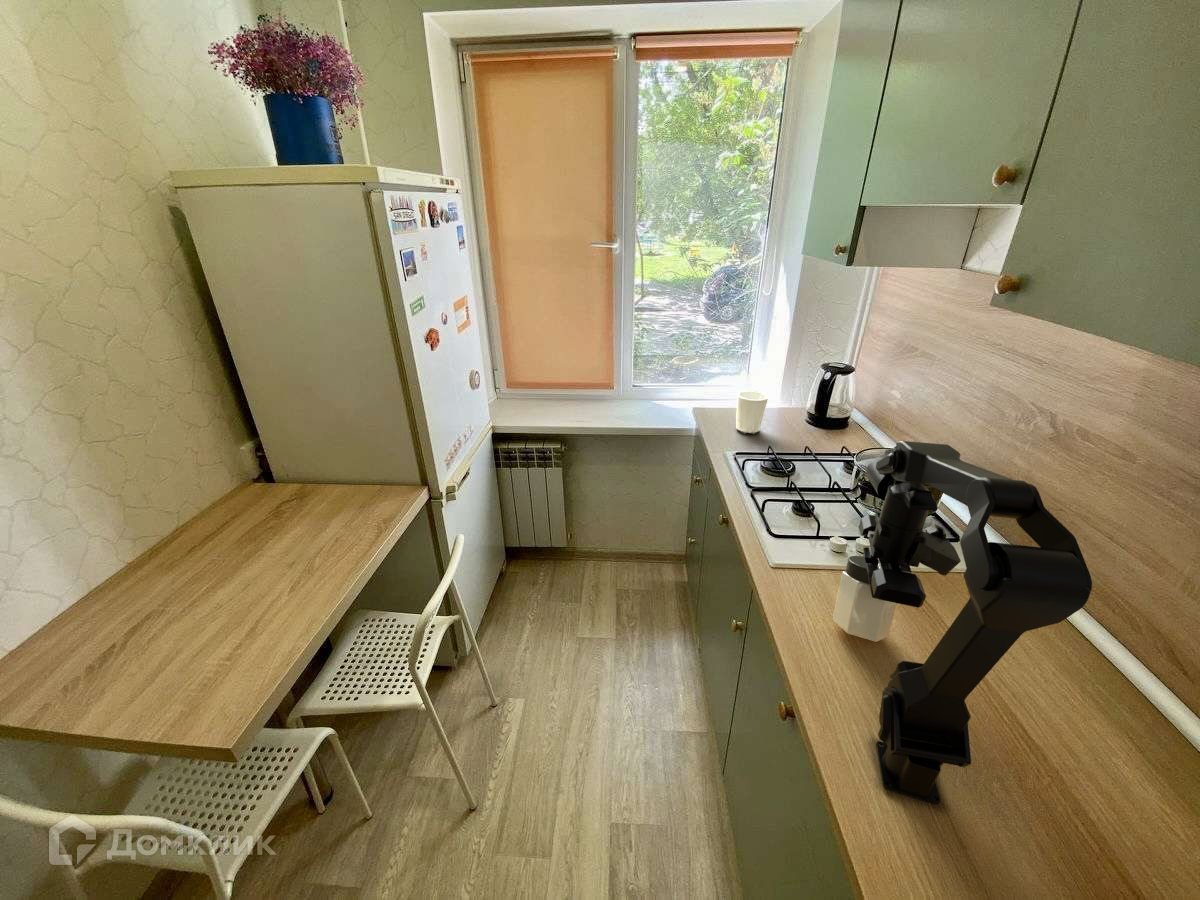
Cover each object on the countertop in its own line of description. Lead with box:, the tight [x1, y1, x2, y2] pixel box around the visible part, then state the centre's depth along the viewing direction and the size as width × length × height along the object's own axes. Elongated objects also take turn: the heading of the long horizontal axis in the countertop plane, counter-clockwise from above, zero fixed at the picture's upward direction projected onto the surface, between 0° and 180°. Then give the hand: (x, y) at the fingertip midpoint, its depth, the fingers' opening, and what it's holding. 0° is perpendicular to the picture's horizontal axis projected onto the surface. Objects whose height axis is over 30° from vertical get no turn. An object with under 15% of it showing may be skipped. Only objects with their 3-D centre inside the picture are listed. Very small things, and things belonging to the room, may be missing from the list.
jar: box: [832, 555, 897, 643], centre depth 85 cm, size 9×8×12 cm
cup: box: [735, 390, 769, 435], centre depth 164 cm, size 10×10×13 cm
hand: (875, 597), depth 81 cm, fingers closed
